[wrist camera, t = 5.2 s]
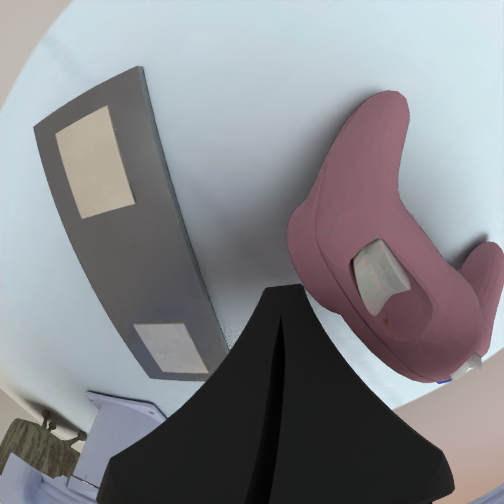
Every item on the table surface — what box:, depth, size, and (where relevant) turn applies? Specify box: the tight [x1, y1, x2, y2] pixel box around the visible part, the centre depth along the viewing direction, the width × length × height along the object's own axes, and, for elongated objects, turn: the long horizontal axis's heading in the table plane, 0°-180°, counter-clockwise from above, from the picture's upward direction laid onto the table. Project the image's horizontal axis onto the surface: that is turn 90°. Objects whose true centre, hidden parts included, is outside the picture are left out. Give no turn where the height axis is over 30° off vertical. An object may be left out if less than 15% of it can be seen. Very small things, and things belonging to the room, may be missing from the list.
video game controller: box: [287, 90, 504, 384], centre depth 7 cm, size 10×5×7 cm, turn 54°
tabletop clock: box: [0, 410, 87, 482], centre depth 19 cm, size 14×9×25 cm, turn 111°
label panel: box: [33, 66, 229, 381], centre depth 11 cm, size 16×6×1 cm, turn 12°
